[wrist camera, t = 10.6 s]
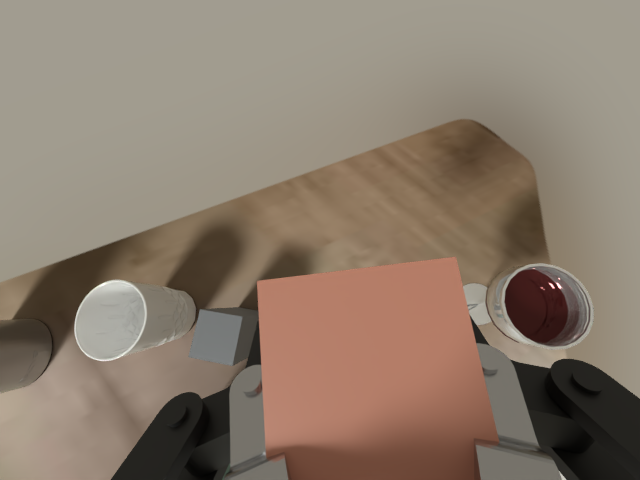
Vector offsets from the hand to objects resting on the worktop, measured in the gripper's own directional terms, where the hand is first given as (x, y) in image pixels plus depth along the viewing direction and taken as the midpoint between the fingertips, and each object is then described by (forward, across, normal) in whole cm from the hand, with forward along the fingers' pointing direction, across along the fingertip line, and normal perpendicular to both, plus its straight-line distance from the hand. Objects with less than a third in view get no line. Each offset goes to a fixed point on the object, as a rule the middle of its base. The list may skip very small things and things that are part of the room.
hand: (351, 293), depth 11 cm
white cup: (+18, +24, +17) cm, 34 cm away
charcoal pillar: (+16, +13, +19) cm, 28 cm away
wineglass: (+16, -15, +19) cm, 29 cm away
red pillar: (+2, 0, +4) cm, 5 cm away
